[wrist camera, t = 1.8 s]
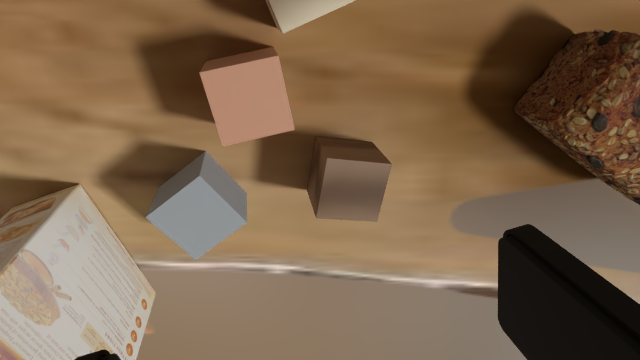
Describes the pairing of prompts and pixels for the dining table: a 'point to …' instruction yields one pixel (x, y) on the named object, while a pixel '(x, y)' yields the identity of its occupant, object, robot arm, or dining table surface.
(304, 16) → the beech block
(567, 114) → the bread
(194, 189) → the slate block
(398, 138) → the dining table surface
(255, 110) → the terracotta block
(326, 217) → the walnut block
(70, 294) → the coffeecake box
